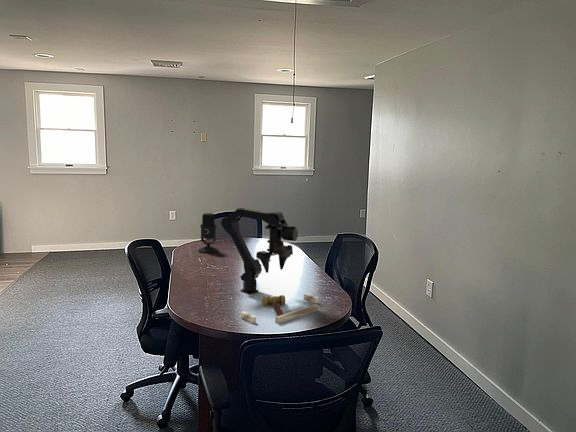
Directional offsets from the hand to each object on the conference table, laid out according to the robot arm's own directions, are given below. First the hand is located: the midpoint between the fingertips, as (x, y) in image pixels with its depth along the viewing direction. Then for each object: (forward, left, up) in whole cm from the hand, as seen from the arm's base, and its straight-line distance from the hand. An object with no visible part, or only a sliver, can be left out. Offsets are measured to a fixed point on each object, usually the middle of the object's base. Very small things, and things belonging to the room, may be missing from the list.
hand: (274, 271), depth 218 cm
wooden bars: (+20, -11, -12) cm, 26 cm away
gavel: (+17, -13, -13) cm, 25 cm away
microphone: (-96, +29, -12) cm, 101 cm away
